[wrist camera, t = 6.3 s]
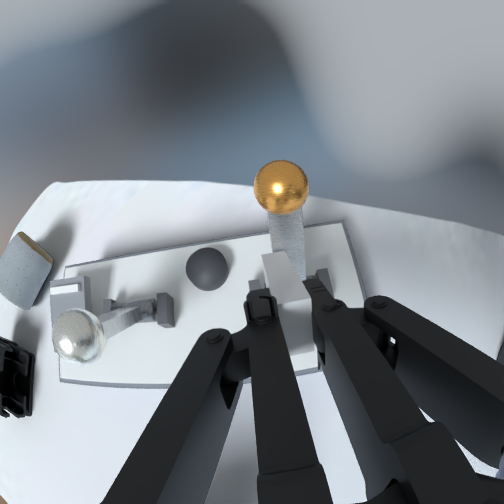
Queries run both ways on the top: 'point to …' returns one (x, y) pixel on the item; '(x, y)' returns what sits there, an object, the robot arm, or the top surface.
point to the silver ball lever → (96, 329)
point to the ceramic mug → (23, 270)
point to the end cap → (15, 379)
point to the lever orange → (284, 209)
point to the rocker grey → (69, 295)
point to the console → (198, 300)
